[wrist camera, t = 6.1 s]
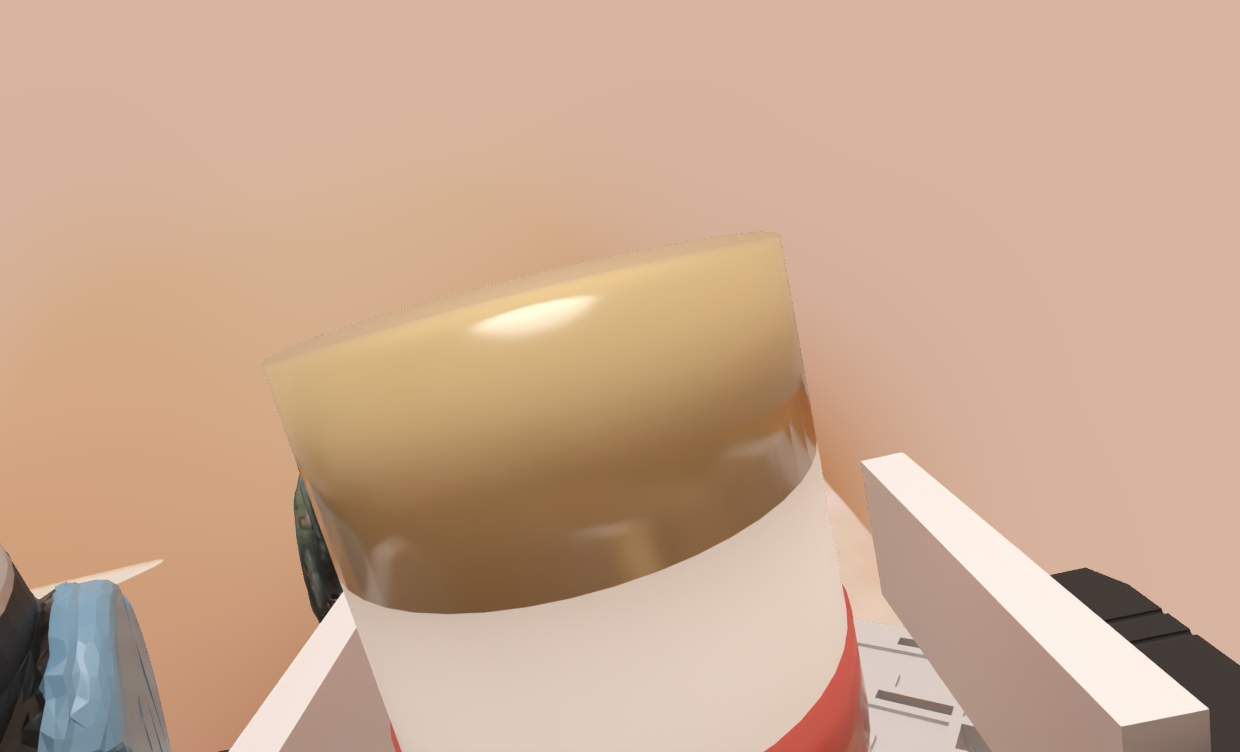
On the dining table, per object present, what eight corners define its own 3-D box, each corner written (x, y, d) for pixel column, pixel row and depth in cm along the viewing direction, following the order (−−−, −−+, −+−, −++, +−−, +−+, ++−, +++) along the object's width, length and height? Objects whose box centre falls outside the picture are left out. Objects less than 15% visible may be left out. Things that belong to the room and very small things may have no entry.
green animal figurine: (352, 589, 67) (282, 395, 63) (419, 565, 69) (355, 375, 64) (333, 715, 48) (231, 452, 44) (425, 679, 50) (336, 421, 45)
